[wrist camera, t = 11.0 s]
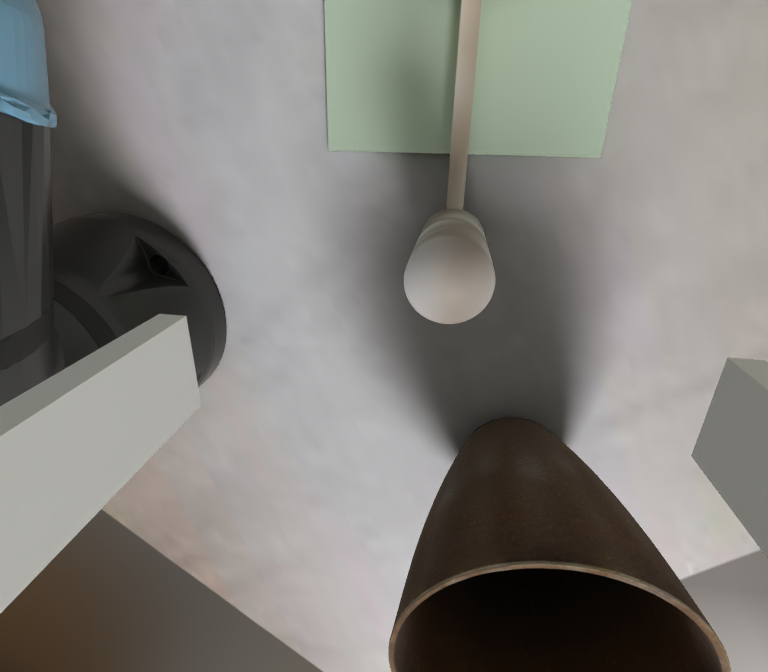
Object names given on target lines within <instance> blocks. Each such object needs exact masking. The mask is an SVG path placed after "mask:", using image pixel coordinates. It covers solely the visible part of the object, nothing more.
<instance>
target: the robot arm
mask: <svg viewBox="0 0 768 672" xmlns="http://www.w3.org/2000/svg"><path fill="white" fill-rule="evenodd" d="M56 126H57V114H56V112H55V111H54V109H53V108H52V106H51V105H50V99H49V86H48V73H47V61H46V48H45V35H44V25H43V20H42V15H41V13H40V10H39V7H38V4H37V2H36V0H0V613H1V612H2V611H3V610H4V609H5V608H6V607H7V606H8V605H9V604H10V603H11V602H12V601H13V600H14V599H15V598H16V597H17V596H18V595H19V594H20V592H22V590H24V589H25V587H26V586H27V585H28V584H29V583H30V582H31V581H32V580H33V579H34V578H35V577H36V576H37V575H38V574H39V573H40V572H41V571H42V570H43V569H44V568H45V566H47V565H48V564H49V562H51V560H52V559H53V558H54V557H55V556H56V555H57V554H58V553H59V552H60V551H61V550H62V549H63V548H64V547H65V546H66V545H67V544H68V543H69V542H70V541H71V540H72V538H74V537H75V536H76V534H77V533H79V531H80V530H81V529H82V528H83V527H84V526H85V525H86V524H87V523H88V522H89V521H90V520H91V519H92V518H93V517H94V516H95V515H96V514H97V513H98V512H99V511H100V510H101V509H102V508H103V507H104V506H105V505H106V504H107V502H108V501H109V500H110V499H111V498H112V497H113V496H114V495H115V494H116V493H117V492H118V491H119V490H120V489H121V488H122V487H123V486H124V485H125V484H126V483H127V482H128V481H129V480H130V479H131V478H132V477H133V476H134V474H135V473H136V472H137V471H138V470H139V469H140V468H141V467H142V466H143V465H144V464H145V463H146V462H147V461H148V460H149V459H150V458H151V457H152V456H153V455H154V454H155V453H156V452H157V451H158V450H159V449H160V448H161V446H162V445H163V444H164V443H165V442H166V441H167V440H168V439H169V438H170V437H171V436H172V435H173V434H174V433H175V432H176V431H177V430H178V429H179V428H180V427H181V426H182V425H183V424H184V423H185V422H186V421H187V420H188V418H189V417H190V416H191V415H192V414H193V413H194V412H195V411H196V410H197V409H198V408H199V407H200V406H201V400H200V394H199V388H198V387H199V386H200V385H202V384H203V383H204V382H205V381H206V380H207V379H208V378H209V377H210V376H211V375H212V373H213V372H214V371H215V369H216V368H217V366H218V364H219V362H220V360H221V358H222V355H223V352H224V348H225V343H226V319H225V313H224V308H223V305H222V301H221V298H220V296H219V293H218V291H217V288H216V286H215V284H214V282H213V280H212V279H211V277H210V275H209V274H208V272H207V270H206V269H205V268H204V266H203V265H202V263H201V262H200V261H199V260H198V258H197V257H196V256H195V255H194V254H193V253H192V252H191V251H190V250H189V249H188V248H187V247H186V246H185V245H184V244H183V243H182V242H181V241H179V240H178V239H177V238H176V237H174V236H173V235H172V234H170V233H169V232H167V231H166V230H164V229H162V228H161V227H159V226H157V225H155V224H153V223H151V222H149V221H147V220H144V219H141V218H138V217H135V216H131V215H127V214H122V213H97V214H91V215H86V216H81V217H76V218H72V219H68V220H65V221H62V222H60V223H58V224H55V225H53V226H52V186H51V145H50V127H51V128H53V127H56ZM691 456H692V457H693V459H694V460H695V461H696V463H697V464H698V465H699V467H700V468H701V469H702V471H703V472H704V474H705V475H706V476H707V478H708V479H709V480H710V482H711V483H712V484H713V486H714V487H715V488H716V490H717V491H718V492H719V494H720V495H721V496H722V498H723V499H724V500H725V502H726V503H727V504H728V506H729V507H730V508H731V510H732V511H733V512H734V514H735V515H736V516H737V518H738V519H739V520H740V522H741V523H742V524H743V526H744V527H745V528H746V530H747V531H748V532H749V534H750V535H751V536H752V538H753V539H754V541H755V542H756V543H757V545H758V546H759V547H760V549H761V550H762V551H763V553H764V554H765V555H766V556H767V558H768V362H766V361H765V360H753V359H740V358H727V361H726V363H725V366H724V369H723V371H722V374H721V377H720V380H719V382H718V385H717V388H716V390H715V393H714V396H713V399H712V401H711V404H710V407H709V409H708V412H707V415H706V418H705V420H704V423H703V426H702V428H701V431H700V434H699V436H698V439H697V442H696V445H695V447H694V450H693V453H692V455H691Z"/></svg>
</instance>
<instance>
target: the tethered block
mask: <svg viewBox="0 0 768 672" xmlns="http://www.w3.org/2000/svg"><path fill="white" fill-rule="evenodd" d="M481 3H482V0H462V1H461V15H460V28H459V42H458V55H457V69H456V82H455V95H454V109H453V122H452V136H451V149H450V163H449V176H448V190H447V203H446V209H443V210H440V211H438V212H436V213H435V214H433V215H432V216H431V217H430V218H429V219H428V220H427V221H426V223H425V224H424V226H423V228H422V231H421V233H420V235H419V238H418V240H417V242H416V244H415V247H414V249H413V251H412V254H411V256H410V258H409V261H408V263H407V266H406V269H405V273H404V288H405V293H406V296H407V298H408V300H409V302H410V303H411V305H412V306H413V308H414V309H415V310H416V311H417V312H418V313H419V314H421V315H422V316H423V317H425V318H427V319H429V320H431V321H434V322H437V323H442V324H456V323H461V322H464V321H467V320H469V319H471V318H473V317H475V316H476V315H478V314H479V313H480V312H481V311H482V310H483V309H484V308H485V307H486V306H487V304H488V303H489V301H490V299H491V297H492V295H493V292H494V288H495V271H494V267H493V263H492V259H491V256H490V252H489V248H488V245H487V241H486V237H485V233H484V230H483V227H482V225H481V223H480V222H479V220H478V219H477V218H476V217H475V216H474V215H473V214H472V213H470V212H468V211H466V210H464V209H463V205H464V194H465V183H466V171H467V160H468V149H469V138H470V127H471V115H472V104H473V93H474V82H475V70H476V59H477V48H478V37H479V26H480V14H481Z"/></svg>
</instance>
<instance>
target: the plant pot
mask: <svg viewBox="0 0 768 672" xmlns="http://www.w3.org/2000/svg"><path fill="white" fill-rule="evenodd" d="M389 663H390V668H391V672H731V668H730V664H729V660H728V657H727V654H726V651H725V649H724V647H723V645H722V643H721V642H720V640H719V638H718V637H717V635H716V633H715V632H714V630H713V629H712V627H711V626H710V624H709V623H708V622H707V620H706V618H705V617H704V615H703V614H702V613H701V611H700V609H699V608H698V607H697V605H696V604H695V602H694V601H693V599H692V598H691V596H690V595H689V593H688V592H687V590H686V589H685V587H684V586H683V585H682V583H681V582H680V580H679V579H678V577H677V576H676V574H675V573H674V571H673V570H672V569H671V567H670V566H669V565H668V563H667V562H666V560H665V559H664V558H663V556H662V555H661V553H660V552H659V551H658V549H657V548H656V547H655V545H654V544H653V543H652V541H651V540H650V538H649V537H648V536H647V535H646V533H645V532H644V531H643V530H642V528H641V527H640V526H639V524H638V523H637V522H636V521H635V519H634V518H633V517H632V515H631V514H630V513H629V512H628V510H627V509H626V508H625V507H624V506H623V505H622V503H621V502H620V501H619V500H618V499H617V497H616V496H615V495H614V494H613V493H612V492H611V490H610V489H609V488H608V487H607V486H606V485H605V484H604V483H603V482H602V480H601V479H600V478H599V477H598V476H597V475H596V474H595V473H594V472H593V471H592V470H591V469H590V468H589V467H588V466H587V465H586V464H585V463H584V462H583V461H582V460H581V459H580V458H579V457H578V456H577V455H576V454H575V453H574V452H573V451H572V450H571V449H570V448H569V447H567V446H566V445H565V444H564V443H563V442H562V441H561V440H559V439H558V438H557V437H556V436H555V435H553V434H552V433H551V432H550V431H548V430H547V429H546V428H544V427H543V426H541V425H539V424H537V423H534V422H532V421H529V420H525V419H519V418H505V419H498V420H494V421H491V422H489V423H487V424H485V425H483V426H481V427H480V428H478V429H477V430H476V431H475V432H474V433H473V434H472V435H471V436H470V437H469V439H468V440H467V441H466V443H465V444H464V446H463V447H462V449H461V450H460V452H459V454H458V455H457V457H456V459H455V460H454V462H453V464H452V466H451V467H450V469H449V471H448V473H447V475H446V477H445V479H444V481H443V483H442V485H441V487H440V489H439V491H438V493H437V496H436V498H435V500H434V502H433V505H432V507H431V510H430V512H429V514H428V517H427V519H426V522H425V524H424V527H423V530H422V533H421V535H420V538H419V541H418V544H417V547H416V550H415V553H414V556H413V559H412V562H411V566H410V569H409V573H408V576H407V579H406V583H405V586H404V590H403V594H402V597H401V601H400V605H399V608H398V612H397V616H396V619H395V623H394V627H393V630H392V634H391V637H390V642H389Z"/></svg>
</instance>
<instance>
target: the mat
mask: <svg viewBox="0 0 768 672" xmlns="http://www.w3.org/2000/svg"><path fill="white" fill-rule="evenodd" d="M461 1H462V0H324V10H325V47H326V84H327V121H328V151H359V152H397V153H436V154H450V149H451V136H452V122H453V109H454V95H455V82H456V69H457V55H458V42H459V28H460V15H461ZM631 4H632V0H482V3H481V14H480V26H479V37H478V48H477V59H476V70H475V82H474V93H473V104H472V115H471V127H470V138H469V149H468V154H474V155H513V156H551V157H589V158H601V154H602V149H603V144H604V139H605V134H606V129H607V124H608V119H609V114H610V109H611V104H612V99H613V94H614V89H615V84H616V79H617V74H618V69H619V64H620V59H621V54H622V49H623V44H624V39H625V34H626V29H627V24H628V19H629V14H630V9H631Z"/></svg>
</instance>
